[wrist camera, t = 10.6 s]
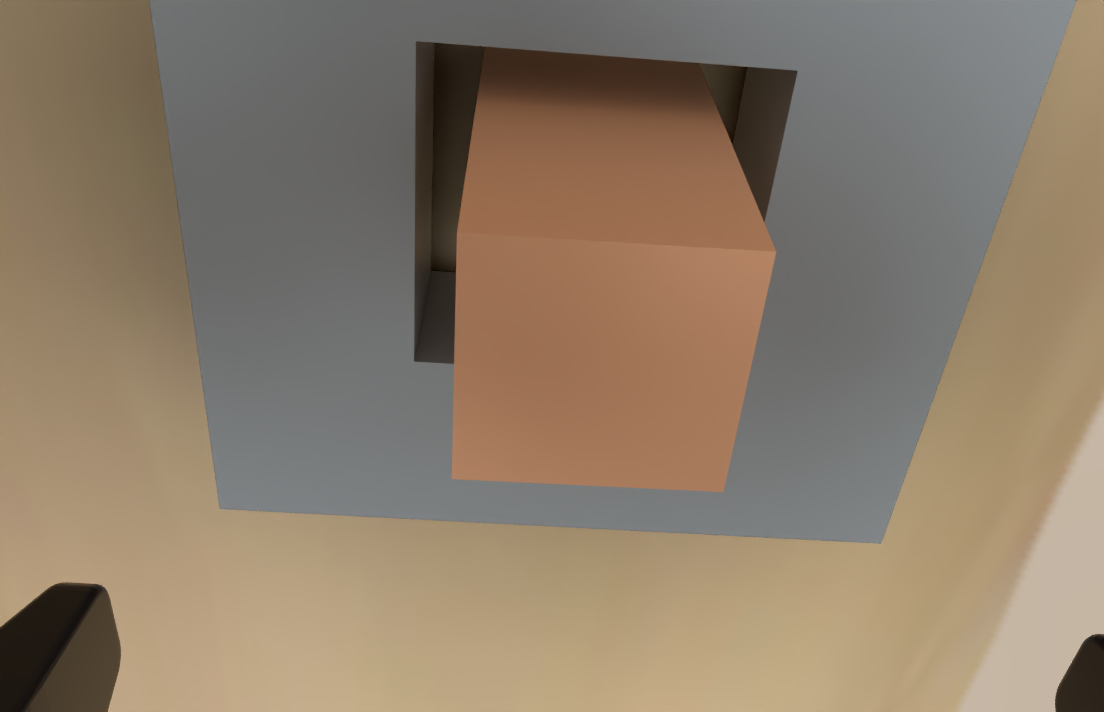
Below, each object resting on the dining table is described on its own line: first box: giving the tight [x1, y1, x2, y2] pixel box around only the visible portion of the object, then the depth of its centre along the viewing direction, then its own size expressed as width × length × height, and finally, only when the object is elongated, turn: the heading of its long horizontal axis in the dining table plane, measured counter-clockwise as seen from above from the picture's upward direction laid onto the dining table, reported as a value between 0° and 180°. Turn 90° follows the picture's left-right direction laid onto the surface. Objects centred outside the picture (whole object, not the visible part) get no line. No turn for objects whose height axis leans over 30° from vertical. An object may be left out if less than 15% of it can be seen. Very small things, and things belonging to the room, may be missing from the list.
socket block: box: [149, 0, 1077, 544], centre depth 19 cm, size 14×14×4 cm
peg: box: [452, 47, 776, 492], centre depth 17 cm, size 4×4×8 cm
